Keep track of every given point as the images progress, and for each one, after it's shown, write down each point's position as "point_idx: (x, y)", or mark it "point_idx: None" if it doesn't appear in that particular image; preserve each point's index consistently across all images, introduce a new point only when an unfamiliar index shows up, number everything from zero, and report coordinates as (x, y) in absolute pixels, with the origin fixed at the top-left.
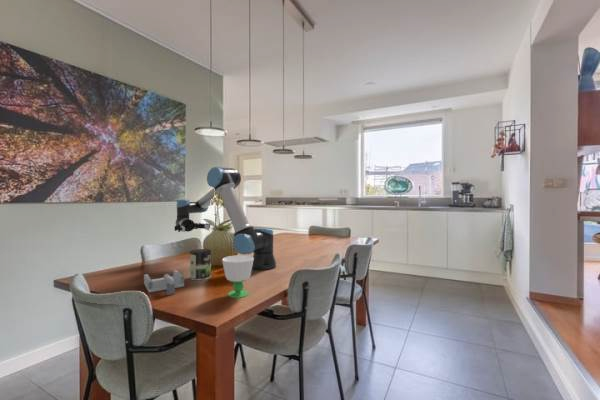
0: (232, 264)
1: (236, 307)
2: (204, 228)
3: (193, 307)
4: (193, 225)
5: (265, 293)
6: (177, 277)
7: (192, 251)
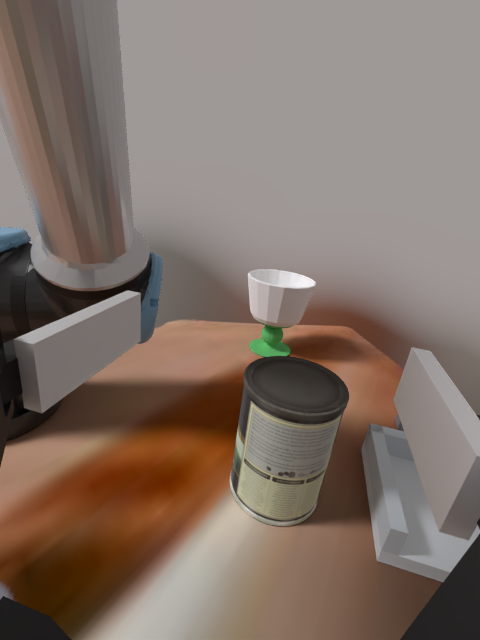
0: (305, 281)
1: (303, 332)
2: (8, 425)
3: (364, 361)
4: (15, 616)
5: (231, 329)
6: (393, 432)
7: (332, 401)
